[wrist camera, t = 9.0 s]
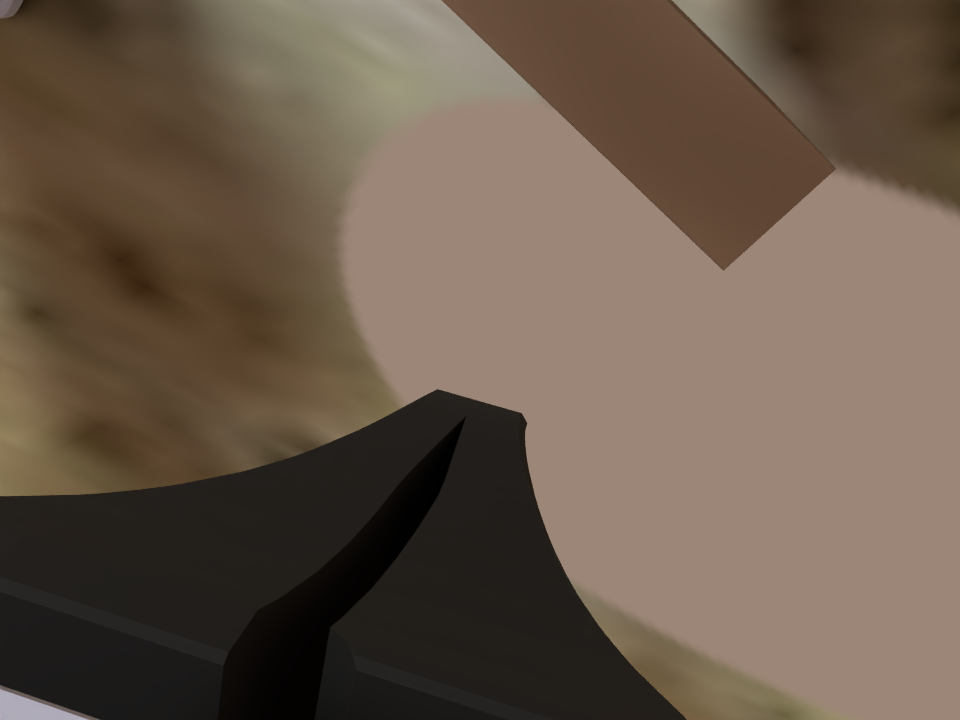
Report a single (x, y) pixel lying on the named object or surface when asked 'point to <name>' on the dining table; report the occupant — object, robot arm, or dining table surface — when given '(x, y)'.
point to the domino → (660, 110)
